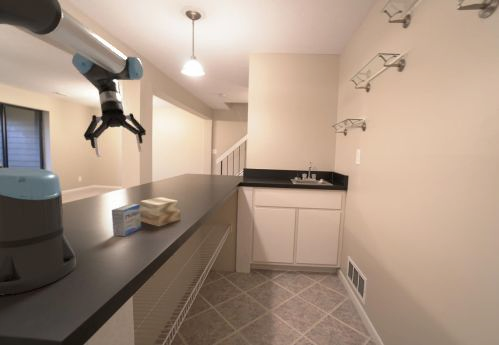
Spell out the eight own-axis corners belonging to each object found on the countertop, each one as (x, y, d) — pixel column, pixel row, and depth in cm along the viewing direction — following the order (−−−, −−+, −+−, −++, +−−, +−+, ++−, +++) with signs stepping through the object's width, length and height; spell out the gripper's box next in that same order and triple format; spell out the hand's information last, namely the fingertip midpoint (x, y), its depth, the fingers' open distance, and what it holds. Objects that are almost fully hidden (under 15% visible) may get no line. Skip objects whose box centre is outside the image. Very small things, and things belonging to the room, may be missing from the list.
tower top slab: (157, 216, 83) (157, 205, 83) (140, 211, 89) (140, 201, 89) (178, 210, 90) (177, 200, 90) (161, 206, 97) (160, 197, 96)
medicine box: (125, 237, 73) (123, 210, 72) (112, 235, 74) (111, 209, 73) (141, 228, 81) (140, 204, 80) (130, 227, 82) (129, 203, 81)
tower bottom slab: (158, 227, 83) (158, 216, 82) (138, 221, 89) (138, 211, 89) (180, 220, 91) (180, 210, 91) (161, 215, 98) (160, 206, 97)
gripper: (146, 110, 100) (155, 153, 94) (76, 113, 89) (81, 162, 83) (145, 98, 94) (155, 143, 87) (70, 100, 83) (75, 151, 76)
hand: (119, 152), depth 85 cm, fingers open, 13 cm apart
